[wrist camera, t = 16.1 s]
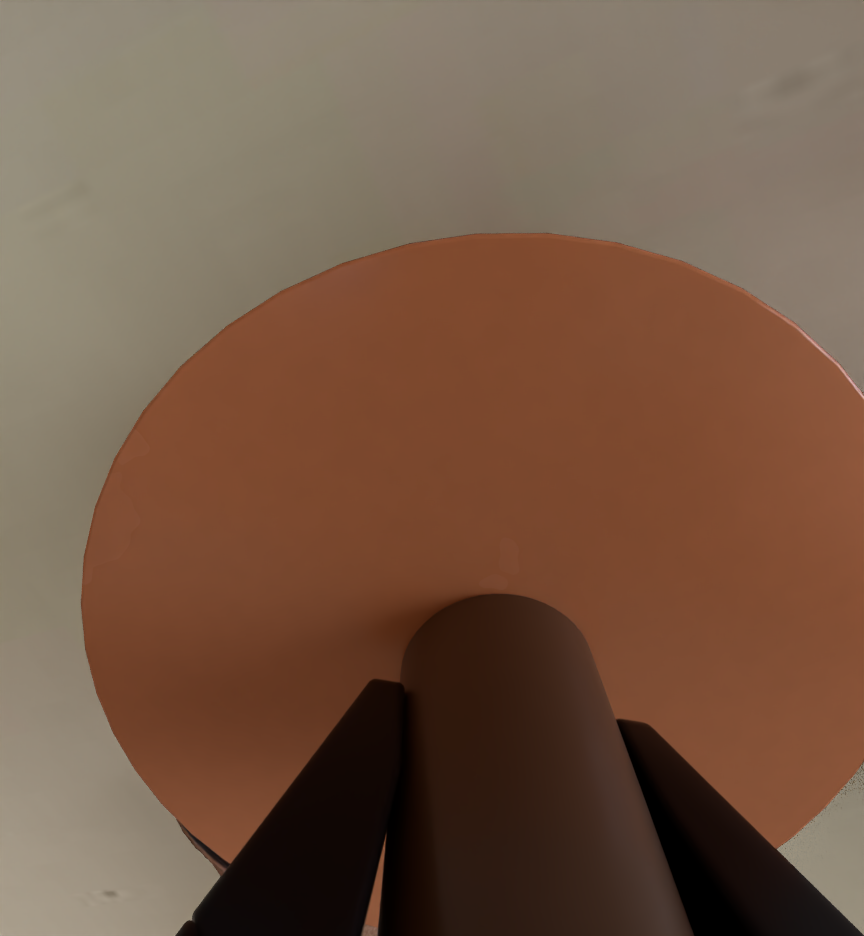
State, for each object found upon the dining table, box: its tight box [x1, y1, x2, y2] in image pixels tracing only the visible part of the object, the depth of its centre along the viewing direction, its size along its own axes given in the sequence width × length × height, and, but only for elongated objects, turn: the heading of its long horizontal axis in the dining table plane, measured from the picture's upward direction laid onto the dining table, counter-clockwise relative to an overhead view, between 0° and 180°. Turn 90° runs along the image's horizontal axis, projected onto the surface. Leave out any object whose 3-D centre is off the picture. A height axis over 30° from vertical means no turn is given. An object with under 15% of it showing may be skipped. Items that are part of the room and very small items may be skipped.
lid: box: [81, 233, 864, 936], centre depth 6 cm, size 11×11×7 cm
